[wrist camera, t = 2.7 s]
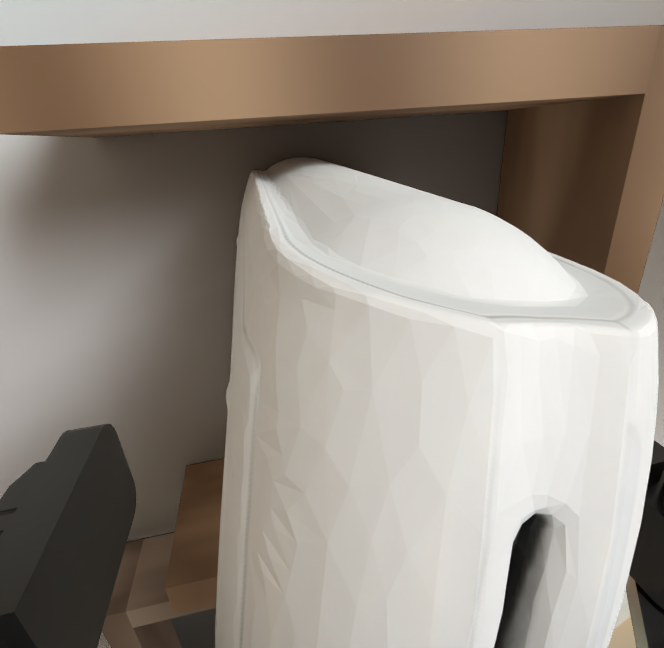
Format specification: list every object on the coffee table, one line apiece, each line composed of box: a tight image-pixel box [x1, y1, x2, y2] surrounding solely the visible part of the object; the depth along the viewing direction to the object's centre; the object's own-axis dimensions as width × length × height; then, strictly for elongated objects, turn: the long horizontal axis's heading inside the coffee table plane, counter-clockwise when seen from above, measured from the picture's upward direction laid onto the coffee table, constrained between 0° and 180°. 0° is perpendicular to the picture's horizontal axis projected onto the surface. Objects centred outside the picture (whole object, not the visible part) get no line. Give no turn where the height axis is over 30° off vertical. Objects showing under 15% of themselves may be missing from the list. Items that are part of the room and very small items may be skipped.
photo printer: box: [215, 157, 659, 648], centre depth 9 cm, size 10×4×12 cm, turn 173°
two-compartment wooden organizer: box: [102, 532, 216, 648], centre depth 20 cm, size 17×13×3 cm
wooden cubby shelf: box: [0, 25, 664, 614], centre depth 13 cm, size 14×14×5 cm
